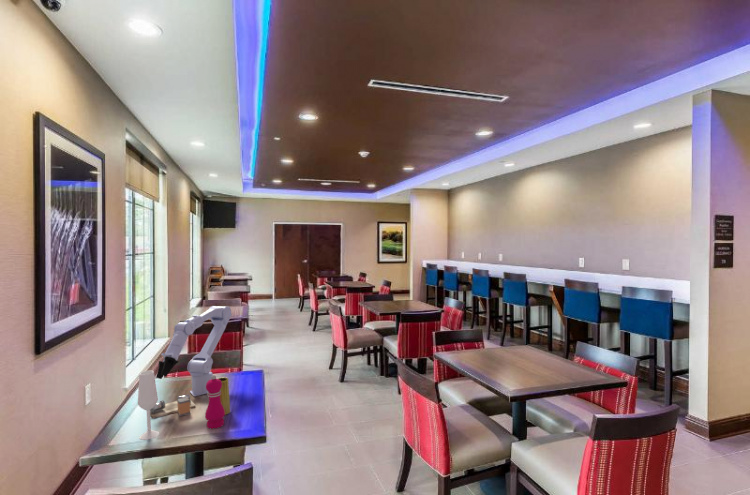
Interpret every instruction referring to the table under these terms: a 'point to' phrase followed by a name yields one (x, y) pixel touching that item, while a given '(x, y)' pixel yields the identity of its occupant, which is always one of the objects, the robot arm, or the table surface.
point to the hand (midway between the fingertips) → (161, 376)
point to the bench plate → (170, 409)
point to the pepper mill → (214, 404)
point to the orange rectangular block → (183, 406)
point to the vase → (225, 395)
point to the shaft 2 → (184, 397)
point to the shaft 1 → (158, 407)
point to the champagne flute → (147, 400)
